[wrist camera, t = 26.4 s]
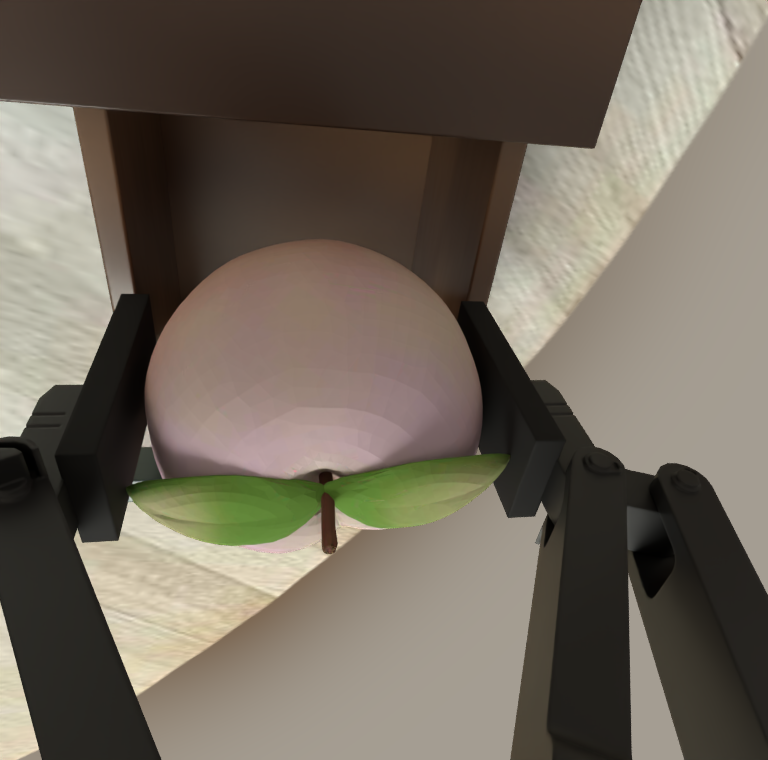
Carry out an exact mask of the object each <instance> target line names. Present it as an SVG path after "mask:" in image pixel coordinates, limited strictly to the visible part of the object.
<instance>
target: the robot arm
mask: <svg viewBox="0 0 768 760" xmlns="http://www.w3.org/2000/svg"><path fill="white" fill-rule="evenodd" d="M457 322H458V324H459V326H460V328H461V330H462V332H463V334H464V336H465V339H466V341H467V344H468V346H469V349H470V351H471V354H472V357H473V359H474V362H475V366H476V369H477V373H478V376H479V381H480V386H481V392H482V402H483V420H482V429H481V436H480V441H479V445H478V447H479V450H480V452H481V454H482V455H483V454H498V453H501V454H508V455H511V457H510V460H509V462H508V463H507V465H506V467H505V469H504V470H503V471H502V473H501V474H500V475H499V476H498V478H497V479H496V480H495V481H494V482H493V483H494V486H495V488H496V490H497V493H498V495H499V497H500V500H501V502H502V505H503V507H504V509H505V512H506V514H507V517H508V518H513V517H532V516H535V515H536V512H537V510H538V508H539V505H540V503H541V501H542V503H543V505H544V507H545V509H546V511H547V513H548V514H547V516H546V519H545V521H544V523H543V526H542V528H541V530H540V532H539V535H538V537H537V539H536V542H535V543H536V544H540V549H539V556H538V564H537V571H536V578H535V585H534V593H533V600H532V607H531V614H530V622H529V629H528V636H527V643H526V650H525V658H524V665H523V672H522V679H521V687H520V694H519V701H518V709H517V715H516V723H515V730H514V738H513V745H512V751H511V759H510V760H632V752H631V705H630V704H631V703H630V649H629V599H628V598H629V597H628V573H629V577H630V580H631V583H632V587H633V590H634V593H635V597H636V600H637V603H638V607H639V610H640V613H641V617H642V620H643V623H644V627H645V630H646V633H647V636H648V640H649V643H650V646H651V650H652V653H653V657H654V660H655V663H656V667H657V670H658V673H659V677H660V680H661V683H662V686H663V690H664V693H665V696H666V700H667V703H668V707H669V710H670V713H671V717H672V720H673V723H674V726H675V730H676V733H677V736H678V740H679V743H680V746H681V750H682V753H683V756H684V760H768V594H767V593H766V591H765V589H764V587H763V585H762V583H761V581H760V579H759V577H758V575H757V573H756V571H755V569H754V567H753V565H752V563H751V561H750V559H749V558H748V555H747V554H746V551H745V550H744V548H743V546H742V544H741V542H740V540H739V538H738V536H737V534H736V532H735V530H734V528H733V526H732V524H731V522H730V520H729V518H728V516H727V515H726V512H725V511H724V509H723V507H722V505H721V503H720V501H719V499H718V497H717V495H716V493H715V491H714V489H713V487H712V485H711V484H710V483H709V482H708V480H707V479H706V478H705V477H704V476H703V475H701V474H700V473H699V472H697V471H696V470H693V469H692V468H690V467H688V466H684V465H681V464H677V463H667V464H665V465H663V466H661V467H660V469H659V470H658V472H657V474H656V475H655V476H654V475H650V474H645V473H640V472H636V471H630V470H627V469H625V468H624V465H623V464H622V463H621V461H620V460H619V459H618V458H617V457H615V456H614V455H613V454H611V453H610V452H608V451H606V450H603V449H601V448H597V447H595V446H594V444H593V443H592V441H591V440H590V438H589V437H588V435H587V434H586V432H585V430H584V429H583V427H582V426H581V425H580V423H579V421H578V420H577V418H576V417H575V416H574V415H573V412H572V410H571V409H570V407H569V406H568V405H567V403H566V401H565V400H564V398H563V396H562V395H561V393H560V392H559V391H558V390H557V389H556V388H555V387H553V386H552V385H551V384H550V383H548V382H547V381H546V380H530V378H529V377H528V375H527V374H526V372H525V370H524V368H523V367H522V365H521V363H520V362H519V360H518V358H517V357H516V355H515V353H514V352H513V350H512V348H511V347H510V345H509V343H508V342H507V340H506V338H505V337H504V335H503V333H502V332H501V330H500V328H499V327H498V325H497V323H496V322H495V320H494V318H493V317H492V315H491V313H490V312H489V310H488V308H487V307H486V305H485V303H484V302H483V301H461V304H460V309H459V313H458V318H457ZM156 344H157V342H156V336H155V329H154V322H153V316H152V309H151V302H150V296H149V294H121V295H120V298H119V300H118V303H117V305H116V308H115V310H114V312H113V315H112V317H111V320H110V322H109V324H108V327H107V329H106V332H105V334H104V336H103V339H102V341H101V344H100V346H99V349H98V351H97V353H96V356H95V358H94V361H93V363H92V365H91V368H90V370H89V373H88V375H87V377H86V380H85V382H84V385H55V386H54V387H52V388H51V389H50V390H49V391H48V392H46V393H45V394H44V395H43V396H42V397H40V398H39V400H38V402H37V404H36V406H35V408H34V410H33V412H32V416H30V418H29V420H28V422H27V424H26V428H24V430H23V432H22V434H21V436H20V437H4V438H0V602H1V606H2V609H3V613H4V617H5V621H6V625H7V628H8V632H9V636H10V640H11V644H12V647H13V651H14V655H15V659H16V663H17V666H18V670H19V674H20V678H21V682H22V685H23V689H24V693H25V697H26V701H27V704H28V708H29V712H30V716H31V720H32V723H33V727H34V731H35V735H36V739H37V742H38V746H39V750H40V754H41V757H42V760H161V757H160V755H159V753H158V750H157V748H156V745H155V742H154V740H153V738H152V735H151V732H150V730H149V727H148V725H147V722H146V720H145V717H144V715H143V713H142V710H141V707H140V705H139V702H138V700H137V697H136V695H135V692H134V690H133V687H132V685H131V682H130V680H129V677H128V675H127V672H126V670H125V667H124V665H123V662H122V660H121V657H120V655H119V652H118V649H117V647H116V644H115V642H114V639H113V637H112V634H111V632H110V629H109V627H108V624H107V622H106V619H105V617H104V614H103V612H102V609H101V607H100V604H99V602H98V599H97V597H96V594H95V592H94V589H93V587H92V584H91V582H90V579H89V577H88V574H87V572H86V569H85V567H84V564H83V562H82V559H81V557H80V554H79V552H78V549H77V547H76V544H75V542H74V537H75V533H76V530H77V528H78V531H79V534H80V537H81V540H82V543H84V542H101V541H118V540H119V536H120V532H121V528H122V524H123V520H124V516H125V512H126V508H127V504H128V500H129V495H128V494H127V491H126V487H127V486H130V485H132V483H133V479H134V475H135V471H136V467H137V463H138V459H139V455H140V451H141V447H142V443H143V439H144V435H145V431H146V427H147V419H146V412H145V381H146V375H147V371H148V367H149V363H150V359H151V356H152V353H153V351H154V348H155V346H156Z"/></svg>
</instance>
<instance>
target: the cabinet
mask: <svg viewBox="0 0 768 760" xmlns="http://www.w3.org/2000/svg"><path fill="white" fill-rule="evenodd" d="M641 2H642V0H0V101H6V102H18V103H31V104H43V105H56V106H68V107H81V108H93V109H106V110H118V111H130V112H143V113H155V114H168V115H180V116H193V117H205V118H217V119H230V120H242V121H255V122H267V123H280V124H292V125H304V126H317V127H329V128H342V129H354V130H367V131H379V132H391V133H404V134H416V135H429V136H441V137H454V138H466V139H479V140H491V141H503V142H516V143H528V144H541V145H553V146H566V147H578V148H590V149H592V148H595V146H596V143H597V139H598V136H599V133H600V130H601V127H602V124H603V121H604V118H605V114H606V111H607V108H608V105H609V102H610V99H611V96H612V93H613V90H614V86H615V83H616V80H617V77H618V74H619V71H620V68H621V65H622V62H623V58H624V55H625V52H626V49H627V46H628V43H629V40H630V37H631V33H632V30H633V27H634V24H635V21H636V18H637V15H638V12H639V9H640V5H641Z"/></svg>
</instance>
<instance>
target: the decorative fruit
mask: <svg viewBox="0 0 768 760" xmlns="http://www.w3.org/2000/svg"><path fill="white" fill-rule="evenodd" d="M145 412H146V419H147V426H148V431H149V436H150V440H151V445H152V450H153V454H154V458H155V461H156V463H157V466H158V469H159V471H160V474H161V477H162V479H158V480H149V481H143V482H138V483H135V484H132V485H130V486H127V487H126V491H127V494H128V495H129V496H130V497H131V499H132V500H133V502H134V503H135V504H136V505H137V506H138V507H139V508H140V509H141V510H142V511H144V512H145V513H146V514H148V515H149V516H150V517H151V518H153V519H154V520H155V521H157V522H159V523H161V524H163V525H164V526H166V527H168V528H170V529H172V530H174V531H176V532H178V533H180V534H183V535H185V536H187V537H190V538H193V539H196V540H199V541H203V542H207V543H212V544H218V545H228V546H239V547H243V548H246V549H250V550H254V551H259V552H267V553H287V552H292V551H296V550H300V549H303V548H306V547H309V546H311V545H313V544H315V543H317V542H319V541H321V540H322V550H323V552H324V553H326V554H332V553H335V551H336V547H337V544H338V543H337V536H336V530H337V529H338V528H340V527H353V528H359V529H369V530H378V529H379V530H381V529H388V528H402V527H411V526H419V525H423V524H427V523H431V522H434V521H437V520H439V519H442V518H444V517H447V516H448V515H450V514H452V513H454V512H456V511H458V510H459V509H461V508H462V507H464V506H465V505H466V504H468V503H469V502H470V501H472V500H473V499H474V498H476V497H477V496H478V495H480V494H481V493H482V492H483V491H484V490H486V489H487V488H488V487H489V485H491V484H492V483H493V482H494V481H495V480H496V479H497V478H498V476H499V475H500V474H501V473H502V471H503V470H504V469H505V467H506V465H507V463H508V462H509V460H510V457H511V455H508V454H501V453H498V454H483V455H476V453H477V449H478V445H479V441H480V436H481V429H482V420H483V402H482V392H481V386H480V381H479V376H478V373H477V369H476V366H475V362H474V359H473V357H472V354H471V351H470V349H469V346H468V344H467V341H466V339H465V336H464V334H463V332H462V330H461V328H460V326H459V324H458V322H457V321H456V319H455V317H454V316H453V314H452V313H451V311H450V310H449V308H448V307H447V305H446V304H445V303H444V302H443V300H442V299H441V298H440V297H439V296H438V295H437V294H436V293H435V292H434V291H433V290H432V289H431V288H430V287H429V286H428V285H427V284H426V283H425V282H424V281H423V280H422V279H420V278H419V277H418V276H417V275H415V274H414V273H413V272H411V271H410V270H408V269H407V268H405V267H404V266H403V265H401V264H400V263H398V262H396V261H394V260H392V259H390V258H389V257H386V256H384V255H382V254H380V253H377V252H375V251H373V250H370V249H367V248H364V247H361V246H358V245H355V244H351V243H347V242H342V241H337V240H325V239H314V240H300V241H292V242H286V243H281V244H276V245H272V246H268V247H264V248H261V249H257V250H254V251H252V252H249V253H246V254H243V255H241V256H239V257H237V258H235V259H233V260H230V261H229V262H227V263H226V264H224V265H223V266H221V267H220V268H218V269H217V270H215V271H214V272H213V273H211V274H210V275H209V276H208V277H207V278H205V279H204V280H203V281H202V282H201V283H200V284H199V285H198V286H197V287H196V288H195V289H194V290H193V291H192V292H191V293H190V294H189V295H188V296H187V298H186V299H185V300H184V301H183V302H182V303H181V304H180V305H179V307H178V308H177V309H176V311H175V312H174V314H173V315H172V317H171V318H170V319H169V321H168V322H167V324H166V325H165V327H164V329H163V331H162V333H161V335H160V337H159V339H158V341H157V344H156V346H155V348H154V351H153V353H152V356H151V359H150V363H149V367H148V371H147V375H146V381H145Z"/></svg>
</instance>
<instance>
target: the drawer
mask: <svg viewBox="0 0 768 760" xmlns="http://www.w3.org/2000/svg"><path fill="white" fill-rule="evenodd" d="M73 111H74V116H75V121H76V126H77V131H78V136H79V141H80V146H81V151H82V156H83V162H84V167H85V172H86V177H87V182H88V187H89V192H90V197H91V202H92V207H93V212H94V218H95V223H96V228H97V233H98V238H99V243H100V248H101V253H102V258H103V263H104V269H105V274H106V279H107V284H108V289H109V294H110V299H111V304H112V309H113V312H114V310H115V308H116V305H117V303H118V300H119V298H120V295H121V294H149V296H150V302H151V309H152V316H153V322H154V329H155V336H156V342H157V341H158V339H159V337H160V335H161V333H162V331H163V329H164V327H165V325H166V324H167V322H168V321H169V319H170V318H171V317H172V315H173V314H174V312H175V311H176V309H177V308H178V307H179V305H180V304H181V303H182V302H183V301H184V300H185V299H186V298H187V296H188V295H189V294H190V293H191V292H192V291H193V290H194V289H195V288H196V287H197V286H198V285H199V284H200V283H201V282H202V281H203V280H204V279H205V278H207V277H208V276H209V275H210V274H211V273H213V272H214V271H215V270H217V269H218V268H220V267H221V266H223V265H224V264H226V263H227V262H229V261H230V260H233V259H235V258H237V257H239V256H241V255H243V254H246V253H249V252H252V251H254V250H257V249H261V248H264V247H268V246H272V245H276V244H281V243H286V242H292V241H300V240H314V239H325V240H337V241H342V242H347V243H351V244H355V245H358V246H361V247H364V248H367V249H370V250H373V251H375V252H377V253H380V254H382V255H384V256H386V257H389V258H390V259H392V260H394V261H396V262H398V263H400V264H401V265H403V266H404V267H405V268H407V269H408V270H410V271H411V272H413V273H414V274H415V275H417V276H418V277H419V278H420V279H422V280H423V281H424V282H425V283H426V284H427V285H428V286H429V287H430V288H431V289H432V290H433V291H434V292H435V293H436V294H437V295H438V296H439V297H440V298H441V299H442V300H443V302H444V303H445V304H446V305H447V307H448V308H449V310H450V311H451V313H452V314H453V316H454V317H455V319H456V321H457V318H458V313H459V309H460V304H461V301H483V302H484V303H485V305H486V306H487V302H488V298H489V295H490V291H491V287H492V283H493V279H494V275H495V271H496V267H497V263H498V259H499V255H500V251H501V247H502V243H503V239H504V235H505V231H506V227H507V223H508V219H509V215H510V211H511V207H512V203H513V199H514V195H515V191H516V187H517V184H518V180H519V176H520V172H521V168H522V164H523V160H524V156H525V152H526V148H527V144H528V143H516V142H503V141H491V140H479V139H466V138H454V137H441V136H429V135H416V134H404V133H391V132H379V131H367V130H354V129H342V128H329V127H317V126H304V125H292V124H280V123H267V122H255V121H242V120H230V119H217V118H205V117H193V116H180V115H168V114H155V113H143V112H130V111H118V110H106V109H93V108H81V107H73ZM158 479H162V477H161V474H160V471H159V469H158V466H157V463H156V461H155V458H154V454H153V450H152V445H151V440H150V436H149V431H148V426H147V427H146V431H145V435H144V439H143V443H142V447H141V451H140V455H139V459H138V463H137V467H136V471H135V475H134V479H133V483H132V484H135V483H138V482H143V481H149V480H158ZM128 502H133V500H132V499H131V497H130V496H129V500H128Z"/></svg>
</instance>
